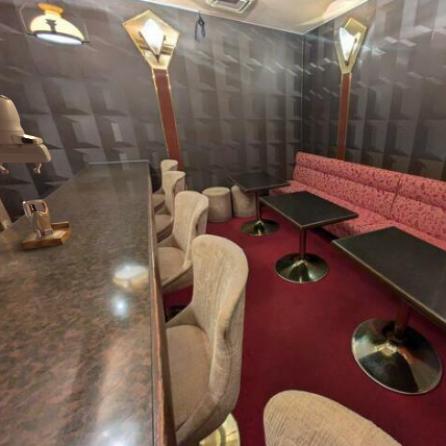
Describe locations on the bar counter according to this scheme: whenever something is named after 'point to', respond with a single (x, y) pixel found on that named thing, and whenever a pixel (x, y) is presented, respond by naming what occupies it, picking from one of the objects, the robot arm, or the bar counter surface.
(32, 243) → the shallow wooden tray
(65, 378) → the bar counter surface
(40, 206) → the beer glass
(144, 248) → the bar counter surface
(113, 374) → the bar counter surface
